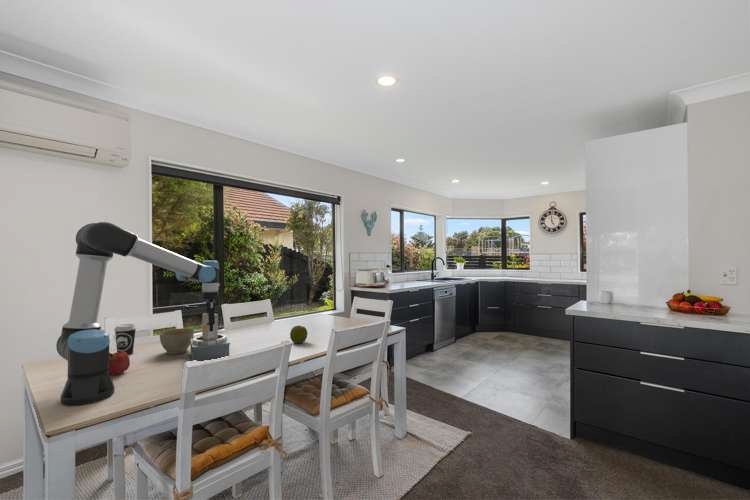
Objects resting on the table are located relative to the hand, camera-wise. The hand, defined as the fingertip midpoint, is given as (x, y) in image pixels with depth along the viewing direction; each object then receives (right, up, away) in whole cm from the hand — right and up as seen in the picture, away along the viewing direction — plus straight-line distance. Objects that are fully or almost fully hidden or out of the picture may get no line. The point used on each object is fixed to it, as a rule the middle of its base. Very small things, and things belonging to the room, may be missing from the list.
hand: (209, 335), depth 175 cm
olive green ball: (+39, -12, +29) cm, 50 cm away
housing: (-1, -11, +2) cm, 11 cm away
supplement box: (0, -2, 0) cm, 2 cm away
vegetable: (-29, -11, -25) cm, 40 cm away
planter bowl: (-22, -11, +9) cm, 26 cm away
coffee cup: (-46, -11, +4) cm, 47 cm away
